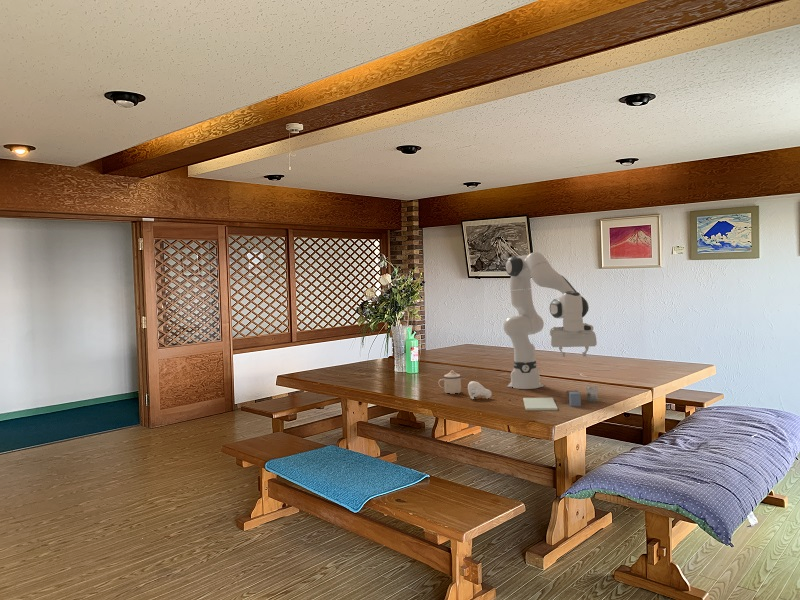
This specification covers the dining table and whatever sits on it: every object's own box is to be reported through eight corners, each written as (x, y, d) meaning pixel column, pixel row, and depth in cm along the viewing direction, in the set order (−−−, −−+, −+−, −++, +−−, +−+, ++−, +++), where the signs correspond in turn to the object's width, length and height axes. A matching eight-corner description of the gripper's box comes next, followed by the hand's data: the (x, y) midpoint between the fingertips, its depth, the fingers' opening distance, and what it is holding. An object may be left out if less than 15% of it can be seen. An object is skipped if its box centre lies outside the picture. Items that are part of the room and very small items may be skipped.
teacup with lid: (461, 390, 320) (460, 369, 319) (461, 394, 311) (461, 371, 310) (438, 391, 320) (437, 369, 320) (438, 394, 311) (438, 372, 311)
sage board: (523, 399, 291) (523, 397, 291) (552, 399, 289) (552, 397, 289) (525, 410, 269) (525, 408, 269) (557, 410, 267) (557, 408, 267)
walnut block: (566, 401, 285) (566, 390, 285) (577, 400, 285) (577, 390, 284) (568, 403, 281) (568, 392, 280) (579, 403, 280) (578, 392, 280)
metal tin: (586, 400, 285) (585, 385, 285) (596, 400, 284) (596, 385, 284) (587, 402, 280) (587, 387, 280) (598, 402, 279) (598, 387, 279)
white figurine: (469, 379, 302) (493, 382, 299) (468, 396, 303) (492, 399, 300) (467, 382, 296) (491, 384, 293) (466, 399, 297) (490, 401, 294)
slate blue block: (569, 404, 278) (569, 391, 278) (579, 404, 278) (579, 391, 277) (570, 406, 274) (570, 393, 274) (580, 406, 273) (580, 393, 273)
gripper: (550, 327, 272) (551, 357, 273) (596, 326, 269) (597, 357, 270) (549, 326, 279) (550, 355, 279) (594, 325, 276) (595, 355, 276)
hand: (573, 356), depth 275 cm, fingers open, 8 cm apart
